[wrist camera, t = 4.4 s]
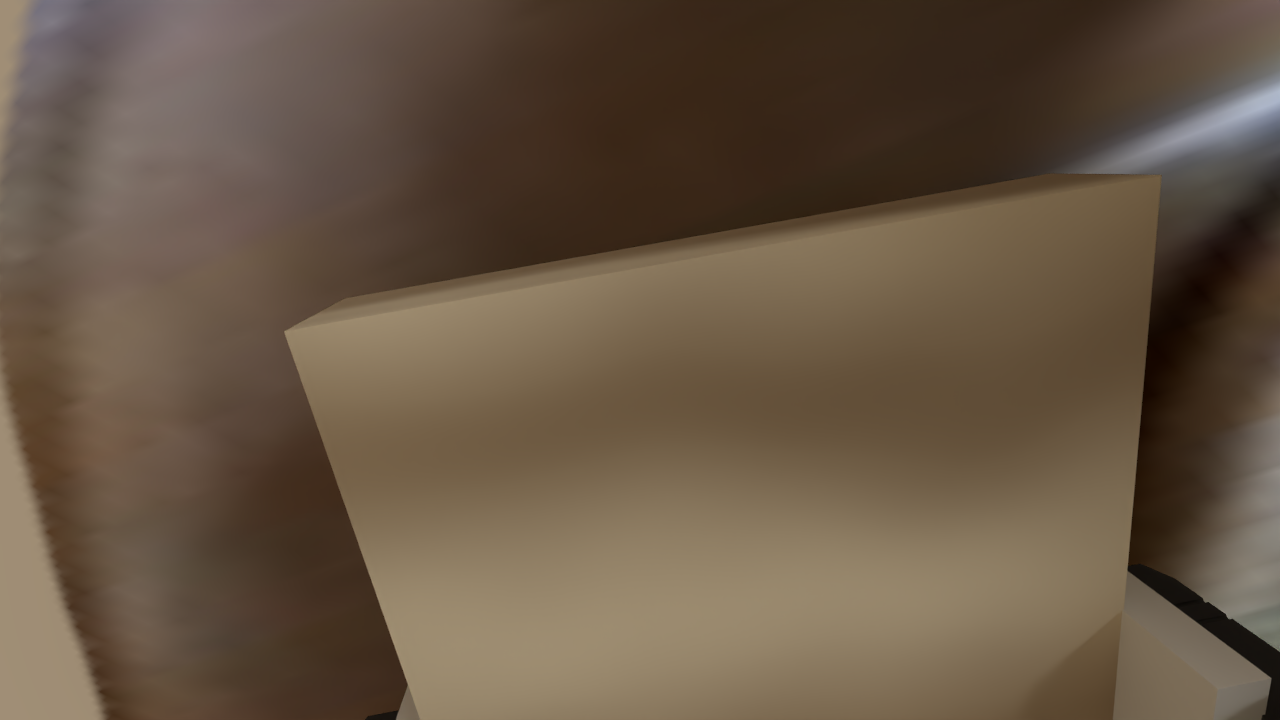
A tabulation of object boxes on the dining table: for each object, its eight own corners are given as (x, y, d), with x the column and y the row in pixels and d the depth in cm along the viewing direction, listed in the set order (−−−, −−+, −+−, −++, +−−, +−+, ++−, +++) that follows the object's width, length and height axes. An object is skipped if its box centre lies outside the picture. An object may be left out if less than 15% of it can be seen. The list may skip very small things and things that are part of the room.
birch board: (345, 298, 9) (284, 331, 8) (1049, 173, 10) (1161, 174, 8) (559, 978, 14) (554, 1104, 12) (1024, 879, 15) (1090, 987, 13)
